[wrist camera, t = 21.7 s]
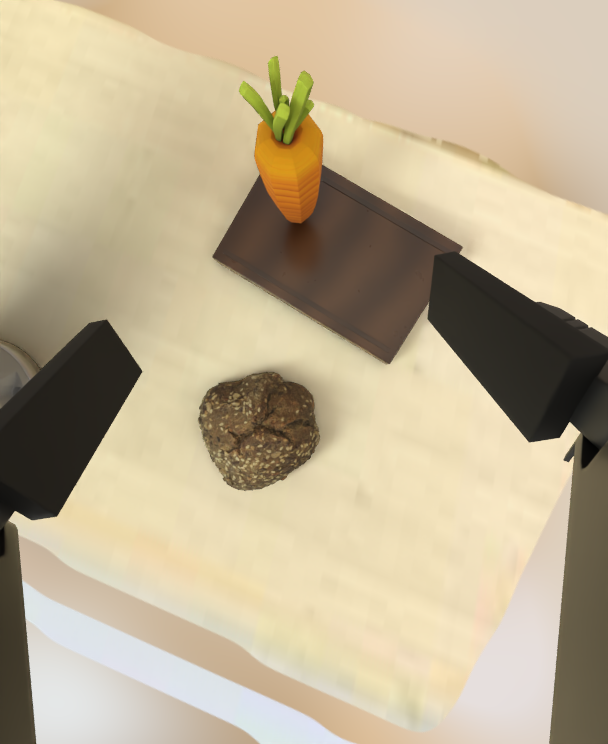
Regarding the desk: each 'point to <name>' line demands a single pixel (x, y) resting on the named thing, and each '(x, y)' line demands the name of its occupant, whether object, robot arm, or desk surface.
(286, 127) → the carrot
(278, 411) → the bread roll
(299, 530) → the desk surface
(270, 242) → the bread board
